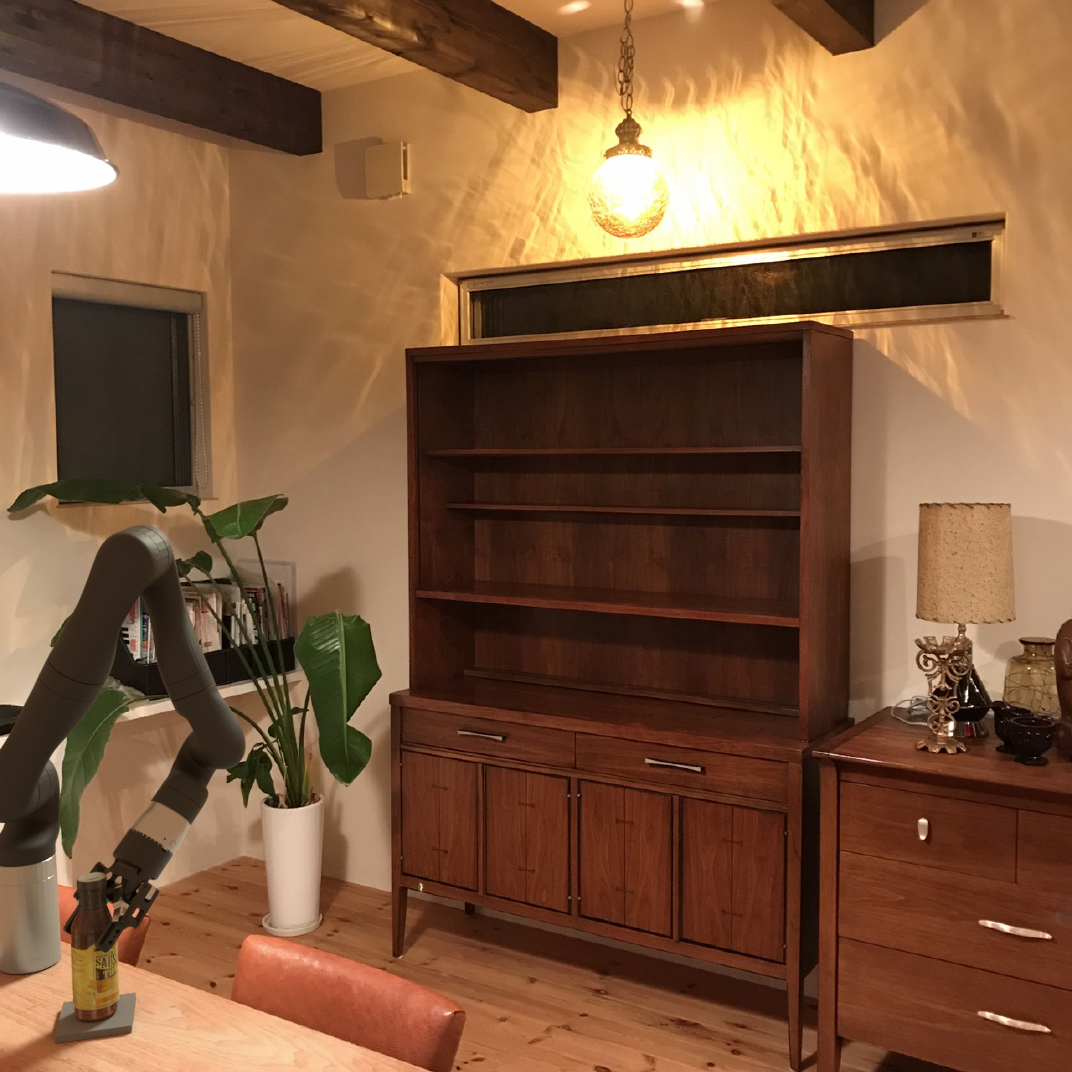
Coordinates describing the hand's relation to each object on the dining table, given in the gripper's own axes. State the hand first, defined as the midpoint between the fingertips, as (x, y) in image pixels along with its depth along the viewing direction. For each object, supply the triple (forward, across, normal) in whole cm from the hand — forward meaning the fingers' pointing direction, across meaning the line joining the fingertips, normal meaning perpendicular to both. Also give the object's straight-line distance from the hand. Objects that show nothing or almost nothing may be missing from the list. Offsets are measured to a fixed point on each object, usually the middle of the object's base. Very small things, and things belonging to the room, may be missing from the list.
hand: (84, 941), depth 164 cm
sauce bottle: (+7, 0, +9) cm, 11 cm away
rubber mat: (+8, 0, +10) cm, 12 cm away
